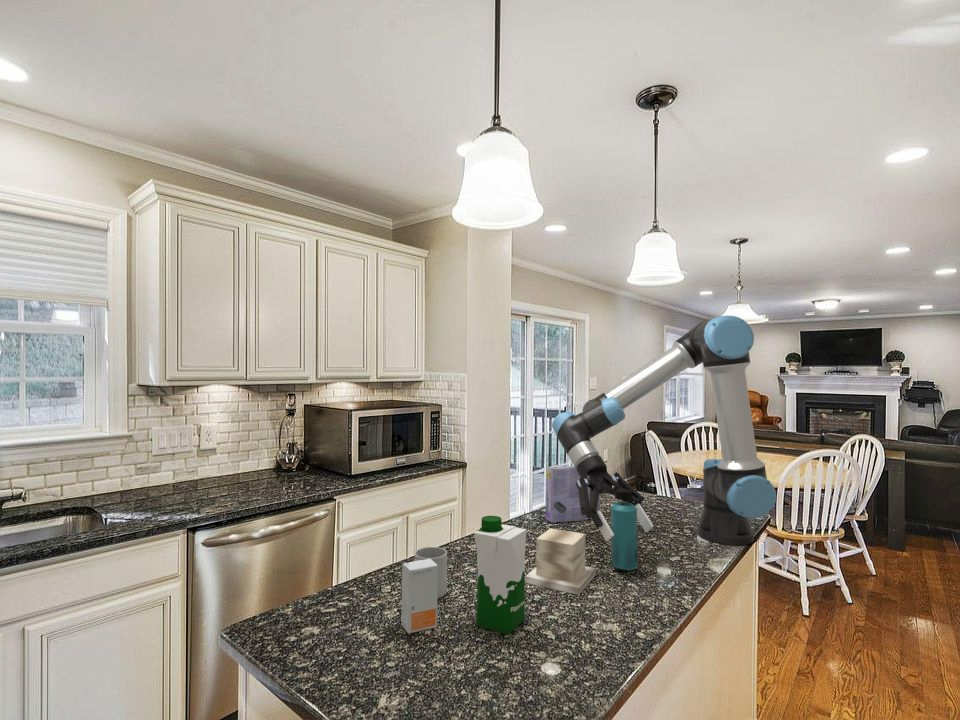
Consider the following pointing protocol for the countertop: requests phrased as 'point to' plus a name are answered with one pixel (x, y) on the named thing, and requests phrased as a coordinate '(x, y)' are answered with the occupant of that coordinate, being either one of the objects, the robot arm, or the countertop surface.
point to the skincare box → (419, 595)
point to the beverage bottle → (624, 532)
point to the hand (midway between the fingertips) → (630, 533)
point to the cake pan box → (563, 495)
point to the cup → (440, 559)
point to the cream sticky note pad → (561, 562)
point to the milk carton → (500, 575)
